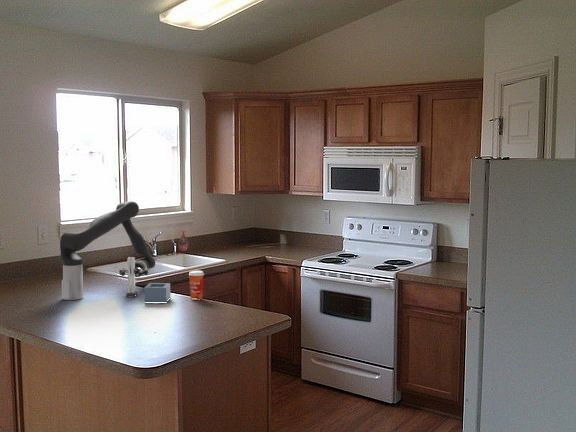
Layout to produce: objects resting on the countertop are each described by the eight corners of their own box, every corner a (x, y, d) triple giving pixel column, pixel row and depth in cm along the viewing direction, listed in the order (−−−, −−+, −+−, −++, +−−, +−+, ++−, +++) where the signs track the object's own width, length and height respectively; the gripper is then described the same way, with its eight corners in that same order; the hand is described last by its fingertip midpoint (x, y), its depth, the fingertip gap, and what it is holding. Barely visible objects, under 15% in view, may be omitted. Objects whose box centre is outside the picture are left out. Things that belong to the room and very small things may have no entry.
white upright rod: (126, 297, 319) (125, 258, 317) (128, 295, 323) (127, 256, 322) (134, 297, 319) (134, 258, 317) (137, 295, 323) (136, 256, 322)
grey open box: (166, 303, 305) (166, 287, 304) (144, 303, 305) (144, 287, 304) (170, 299, 316) (170, 283, 315) (149, 298, 316) (149, 283, 315)
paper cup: (185, 299, 314) (185, 272, 313) (194, 296, 321) (194, 269, 320) (198, 301, 310) (198, 273, 309) (207, 298, 317) (207, 271, 316)
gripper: (125, 261, 335) (116, 266, 319) (151, 261, 335) (144, 267, 319) (125, 275, 336) (116, 281, 319) (151, 275, 336) (144, 281, 319)
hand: (130, 274), depth 319 cm, fingers open, 8 cm apart
